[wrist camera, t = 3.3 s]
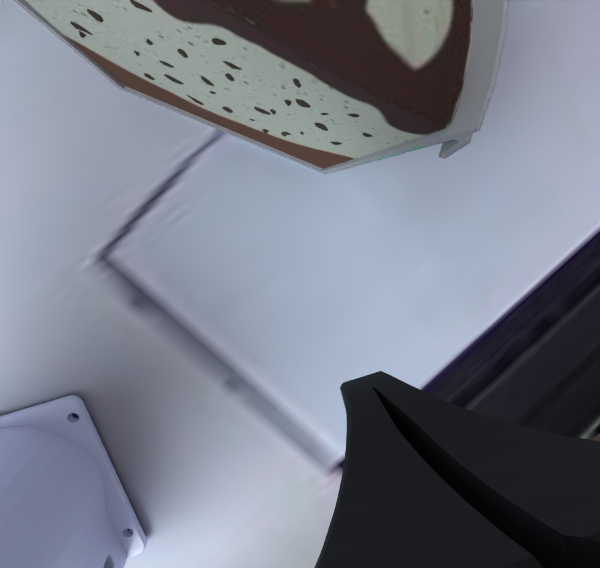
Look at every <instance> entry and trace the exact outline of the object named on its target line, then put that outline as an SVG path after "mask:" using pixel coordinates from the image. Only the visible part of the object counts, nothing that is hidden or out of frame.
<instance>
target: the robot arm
mask: <svg viewBox="0 0 600 568" xmlns="http://www.w3.org/2000/svg"><path fill="white" fill-rule="evenodd" d="M340 389H341V393H342V397H343V400H344V404H345V408H346V413H347V438H346V453H345V461H344V468H343V474H342V480H341V484H340V489H339V494H338V498H337V502H336V506H335V510H334V514H333V517H332V520H331V523H330V526H329V529H328V532H327V536H326V539H325V542H324V545H323V548H322V551H321V553H320V556H319V558H318V561H317V563H316V566H315V568H600V441H595V440H589V439H582V438H577V437H572V436H566V435H561V434H556V433H551V432H547V431H542V430H538V429H533V428H529V427H524V426H521V425H517V424H513V423H509V422H505V421H502V420H499V419H495V418H492V417H489V416H486V415H482V414H479V413H476V412H473V411H470V410H467V409H465V408H462V407H459V406H457V405H454V404H452V403H449V402H447V401H444V400H442V399H439V398H437V397H435V396H432V395H430V394H428V393H426V392H423V391H421V390H419V389H417V388H415V387H413V386H411V385H409V384H407V383H405V382H403V381H401V380H399V379H397V378H395V377H393V376H391V375H389V374H387V373H384V372H382V371H379V372H376V373H373V374H370V375H367V376H363V377H360V378H357V379H354V380H351V381H347V382H344V383H343V384H342V385H341V387H340ZM71 413H75V414H77V415H78V416H79V418H75V417H73V416H72V414H71ZM127 529H131V530H127ZM146 543H147V539H146V536H145V534H144V532H143V530H142V528H141V526H140V524H139V521H138V519H137V517H136V515H135V513H134V511H133V508H132V506H131V504H130V502H129V500H128V498H127V495H126V493H125V491H124V489H123V487H122V485H121V482H120V480H119V478H118V476H117V474H116V472H115V469H114V467H113V465H112V463H111V461H110V459H109V457H108V454H107V452H106V450H105V448H104V446H103V444H102V441H101V439H100V437H99V435H98V433H97V431H96V428H95V426H94V424H93V422H92V420H91V418H90V415H89V413H88V411H87V409H86V407H85V405H84V402H83V401H82V400H81V398H79V397H78V396H74V395H71V396H66V397H63V398H59V399H56V400H53V401H49V402H46V403H43V404H39V405H36V406H33V407H29V408H26V409H23V410H19V411H16V412H13V413H9V414H6V415H3V416H0V568H124V565H125V563H126V560H127V558H129V557H132V556H135V555H138V554H140V553H142V552H143V551H144V549H145V546H146Z"/></svg>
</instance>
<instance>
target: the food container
mask: <svg viewBox="0 0 600 568" xmlns="http://www.w3.org/2000/svg"><path fill="white" fill-rule="evenodd" d="M14 1H15V2H17V3H18V4H19V5H20V6H21V7H23V8H24V9H25V10H26V11H27V12H29V13H30V14H31V15H32V16H33V17H35V18H36V19H37V20H38V21H39V22H41V23H42V24H43V25H44V26H45V27H47V28H48V29H49V30H50V31H51V32H53V33H54V34H55V35H56V36H57V37H59V38H60V39H61V40H62V41H63V42H65V43H66V44H67V45H68V46H69V47H71V48H72V49H73V50H74V51H75V52H77V53H78V54H79V55H80V56H81V57H82V58H84V59H85V60H86V61H87V62H88V63H90V64H91V65H92V66H93V67H94V68H96V69H97V70H98V71H99V72H100V73H102V74H103V75H104V76H105V77H106V78H108V79H109V80H110V81H111V82H112V83H114V84H115V85H116V86H117V87H118V88H120V89H122V90H124V91H127V92H129V93H132V94H134V95H136V96H139V97H141V98H144V99H146V100H148V101H151V102H153V103H156V104H158V105H160V106H163V107H165V108H168V109H170V110H172V111H175V112H177V113H180V114H182V115H184V116H187V117H189V118H192V119H194V120H196V121H199V122H201V123H204V124H206V125H208V126H211V127H213V128H216V129H218V130H220V131H223V132H225V133H228V134H230V135H232V136H235V137H237V138H240V139H242V140H244V141H247V142H249V143H252V144H254V145H256V146H259V147H261V148H264V149H266V150H268V151H271V152H273V153H276V154H278V155H280V156H283V157H285V158H288V159H290V160H292V161H295V162H297V163H300V164H302V165H304V166H307V167H309V168H312V169H314V170H316V171H319V172H321V173H324V174H326V173H330V172H334V171H338V170H341V169H345V168H349V167H353V166H356V165H360V164H364V163H368V162H371V161H375V160H379V159H383V158H386V157H390V156H394V155H398V154H401V153H405V152H409V151H413V150H416V149H420V148H424V147H428V146H432V145H435V144H439V143H443V144H442V147H441V151H440V154H439V157H442V158H444V159H445V158H447V157H448V156H450V155H451V154H453V153H454V152H456V151H458V150H459V149H461V148H462V147H464V146H465V145H467V144H468V143H470V141H471V138H472V135H473V133H474V132H477V131H479V130H480V128H481V125H482V122H483V119H484V116H485V113H486V110H487V107H488V104H489V101H490V98H491V95H492V92H493V89H494V86H495V83H496V78H497V73H498V68H499V64H500V59H501V54H502V49H503V44H504V39H505V35H506V28H507V15H508V2H509V0H14Z"/></svg>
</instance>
